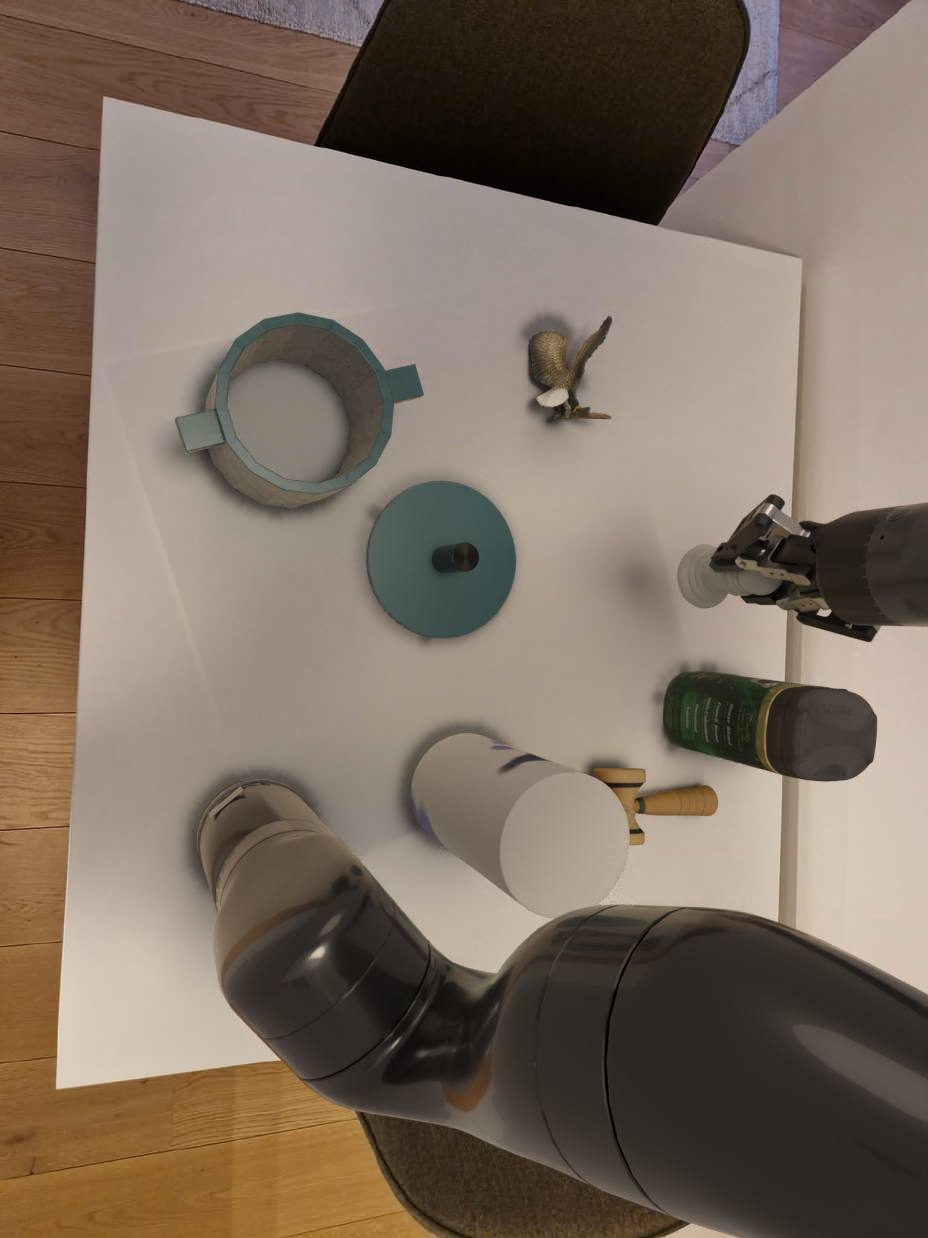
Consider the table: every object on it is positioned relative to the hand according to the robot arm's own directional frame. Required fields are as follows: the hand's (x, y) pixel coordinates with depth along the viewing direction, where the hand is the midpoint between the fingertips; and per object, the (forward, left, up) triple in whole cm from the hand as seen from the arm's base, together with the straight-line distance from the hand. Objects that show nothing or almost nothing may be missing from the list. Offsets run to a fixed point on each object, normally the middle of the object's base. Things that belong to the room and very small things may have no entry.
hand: (733, 574), depth 70 cm
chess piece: (0, 0, -4) cm, 4 cm away
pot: (+21, +28, -16) cm, 38 cm away
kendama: (-20, +7, -16) cm, 26 cm away
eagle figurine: (+20, +2, -16) cm, 26 cm away
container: (-13, +22, -16) cm, 30 cm away
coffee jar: (-15, -4, -16) cm, 22 cm away
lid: (+7, +18, -15) cm, 24 cm away
